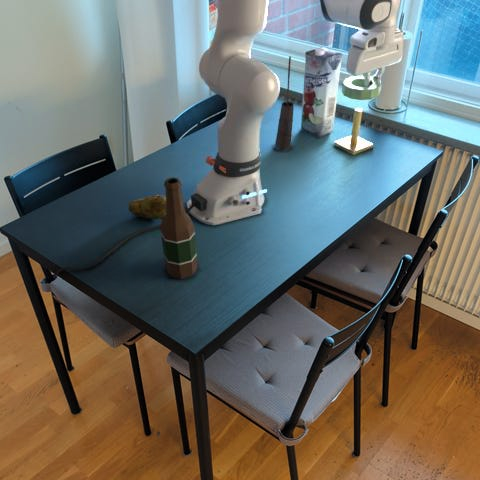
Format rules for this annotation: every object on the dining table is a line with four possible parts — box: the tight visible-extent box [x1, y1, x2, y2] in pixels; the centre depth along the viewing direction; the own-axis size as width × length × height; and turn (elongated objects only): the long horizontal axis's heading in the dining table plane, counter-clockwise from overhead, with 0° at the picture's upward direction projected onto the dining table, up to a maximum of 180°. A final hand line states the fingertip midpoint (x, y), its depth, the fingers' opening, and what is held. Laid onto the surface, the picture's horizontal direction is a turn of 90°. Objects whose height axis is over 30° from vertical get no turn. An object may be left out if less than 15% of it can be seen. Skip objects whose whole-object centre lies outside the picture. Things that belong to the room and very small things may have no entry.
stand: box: [333, 107, 374, 156], centre depth 170 cm, size 9×9×12 cm
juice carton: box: [300, 46, 343, 138], centre depth 174 cm, size 9×10×27 cm
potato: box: [128, 194, 167, 221], centre depth 142 cm, size 8×13×8 cm, turn 43°
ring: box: [341, 75, 383, 101], centre depth 160 cm, size 11×11×3 cm
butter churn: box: [274, 55, 295, 152], centre depth 164 cm, size 9×10×28 cm
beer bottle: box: [160, 177, 198, 280], centre depth 120 cm, size 8×8×24 cm
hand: (371, 83), depth 161 cm, fingers closed on ring, 2 cm apart
